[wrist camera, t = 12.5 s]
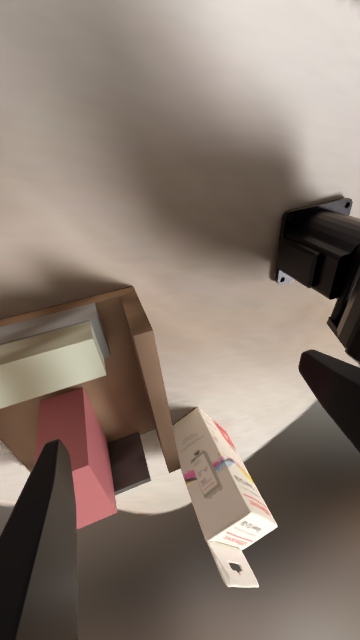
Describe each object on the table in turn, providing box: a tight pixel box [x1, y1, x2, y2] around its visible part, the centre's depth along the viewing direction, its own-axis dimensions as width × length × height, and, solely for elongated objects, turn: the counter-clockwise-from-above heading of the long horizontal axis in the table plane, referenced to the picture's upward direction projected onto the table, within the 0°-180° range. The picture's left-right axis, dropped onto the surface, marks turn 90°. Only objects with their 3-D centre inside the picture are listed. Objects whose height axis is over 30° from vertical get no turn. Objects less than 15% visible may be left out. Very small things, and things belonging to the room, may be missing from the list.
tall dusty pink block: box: [34, 388, 117, 529], centre depth 23 cm, size 4×8×7 cm, turn 6°
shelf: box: [0, 286, 181, 495], centre depth 22 cm, size 14×17×6 cm
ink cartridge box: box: [172, 407, 277, 588], centre depth 29 cm, size 9×5×15 cm, turn 32°
